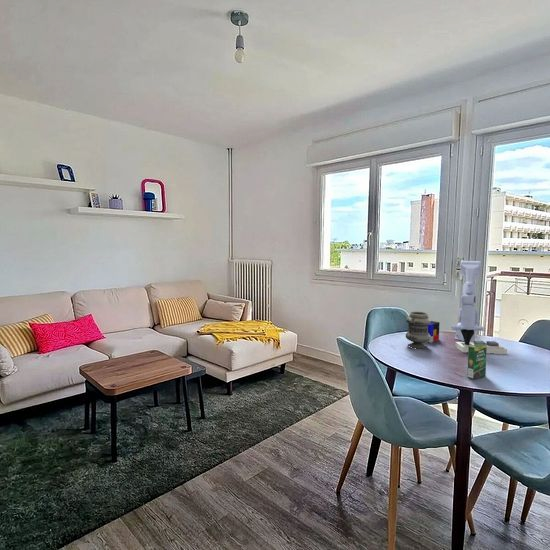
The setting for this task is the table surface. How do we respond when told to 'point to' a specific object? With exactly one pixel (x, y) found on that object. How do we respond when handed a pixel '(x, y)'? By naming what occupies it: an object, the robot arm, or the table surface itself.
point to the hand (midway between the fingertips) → (466, 344)
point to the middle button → (479, 342)
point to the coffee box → (477, 361)
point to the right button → (492, 343)
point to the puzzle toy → (433, 331)
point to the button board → (489, 348)
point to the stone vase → (418, 329)
